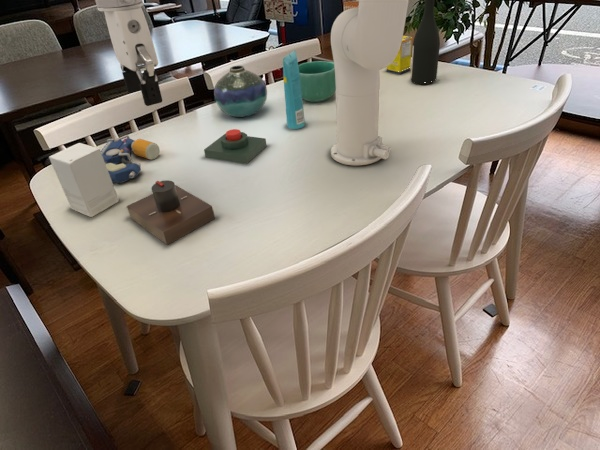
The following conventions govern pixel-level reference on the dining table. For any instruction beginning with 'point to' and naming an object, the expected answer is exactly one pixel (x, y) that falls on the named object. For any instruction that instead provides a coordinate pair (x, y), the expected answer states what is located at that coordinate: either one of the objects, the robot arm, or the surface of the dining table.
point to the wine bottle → (425, 48)
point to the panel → (171, 216)
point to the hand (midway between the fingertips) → (144, 97)
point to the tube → (293, 92)
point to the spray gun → (126, 157)
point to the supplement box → (402, 57)
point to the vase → (240, 92)
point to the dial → (165, 195)
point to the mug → (317, 80)
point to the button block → (236, 148)
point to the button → (233, 135)
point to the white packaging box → (84, 179)
